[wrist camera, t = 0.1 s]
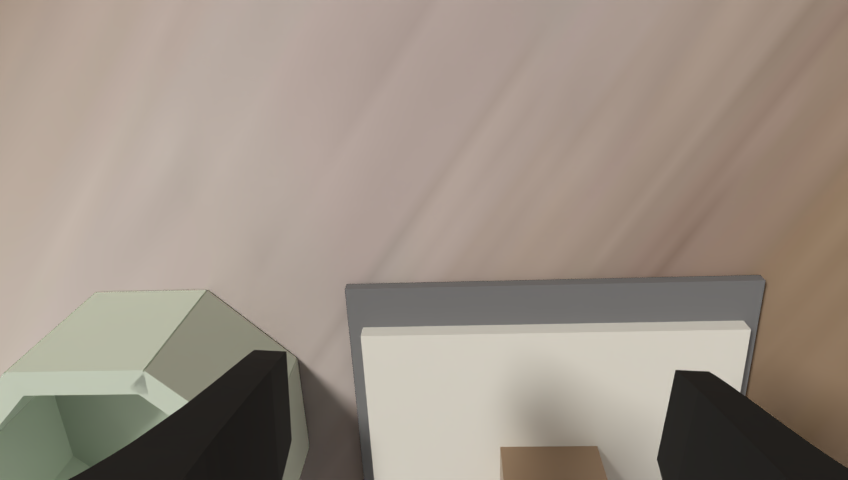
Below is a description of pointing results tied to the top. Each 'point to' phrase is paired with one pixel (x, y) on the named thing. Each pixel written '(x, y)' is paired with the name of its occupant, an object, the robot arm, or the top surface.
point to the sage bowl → (124, 379)
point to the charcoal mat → (544, 310)
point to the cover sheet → (533, 396)
